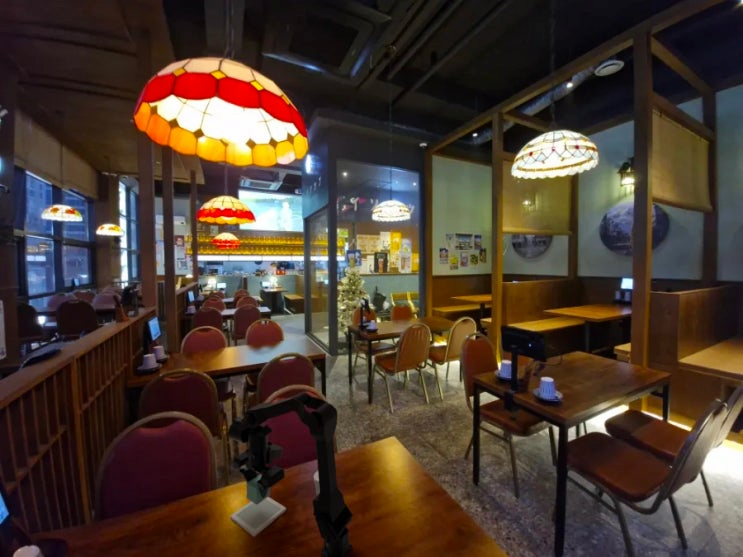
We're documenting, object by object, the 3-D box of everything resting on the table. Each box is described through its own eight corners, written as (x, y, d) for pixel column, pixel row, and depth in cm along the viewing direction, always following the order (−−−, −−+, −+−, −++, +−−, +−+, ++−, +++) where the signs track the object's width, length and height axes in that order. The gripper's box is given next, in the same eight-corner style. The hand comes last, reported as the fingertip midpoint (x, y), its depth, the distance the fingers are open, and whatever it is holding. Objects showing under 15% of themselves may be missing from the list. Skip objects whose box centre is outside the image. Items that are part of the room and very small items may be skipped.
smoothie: (329, 512, 101) (329, 469, 101) (310, 509, 102) (310, 467, 102) (335, 497, 107) (335, 457, 107) (317, 495, 109) (317, 455, 108)
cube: (270, 495, 101) (270, 479, 100) (256, 504, 96) (256, 489, 96) (260, 489, 103) (260, 474, 103) (246, 498, 99) (246, 482, 99)
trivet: (286, 510, 102) (286, 507, 102) (254, 536, 92) (254, 533, 92) (262, 495, 108) (262, 492, 108) (230, 518, 98) (230, 515, 98)
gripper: (297, 442, 101) (298, 490, 101) (260, 426, 111) (261, 469, 112) (269, 460, 92) (269, 512, 92) (231, 441, 102) (232, 487, 102)
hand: (258, 493), depth 100 cm, fingers closed on cube, 5 cm apart
